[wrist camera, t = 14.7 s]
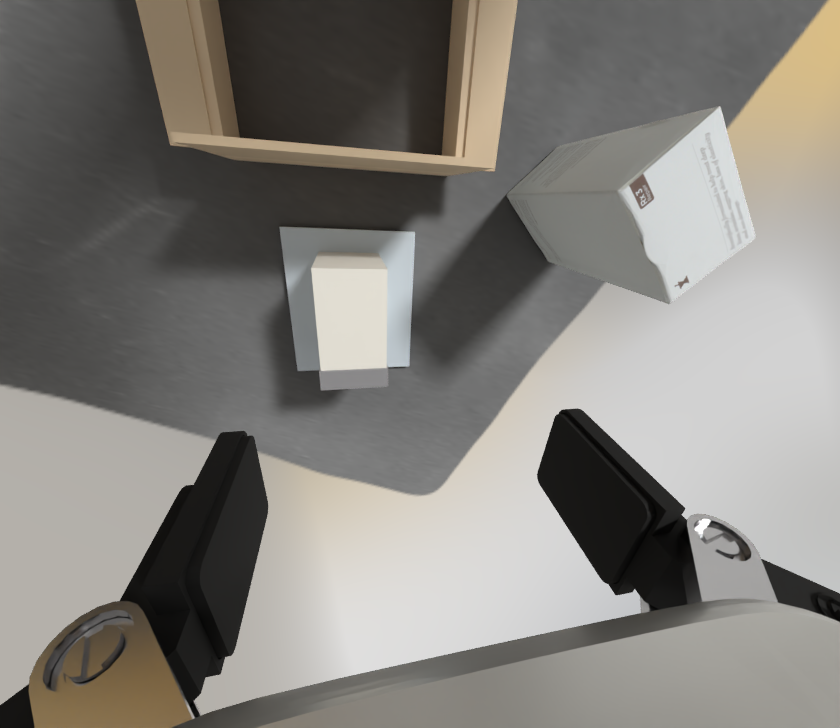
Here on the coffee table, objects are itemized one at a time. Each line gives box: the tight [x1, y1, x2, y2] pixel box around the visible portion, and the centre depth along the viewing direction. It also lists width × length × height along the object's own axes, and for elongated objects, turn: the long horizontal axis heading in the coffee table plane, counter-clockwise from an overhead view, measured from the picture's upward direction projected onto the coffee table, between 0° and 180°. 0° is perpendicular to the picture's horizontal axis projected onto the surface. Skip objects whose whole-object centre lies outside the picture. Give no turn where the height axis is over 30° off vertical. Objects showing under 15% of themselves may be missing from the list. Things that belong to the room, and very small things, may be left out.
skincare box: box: [507, 107, 756, 304], centre depth 24 cm, size 8×6×15 cm
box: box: [311, 252, 388, 390], centre depth 27 cm, size 9×5×7 cm, turn 177°
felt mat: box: [279, 226, 415, 371], centre depth 31 cm, size 13×11×1 cm
